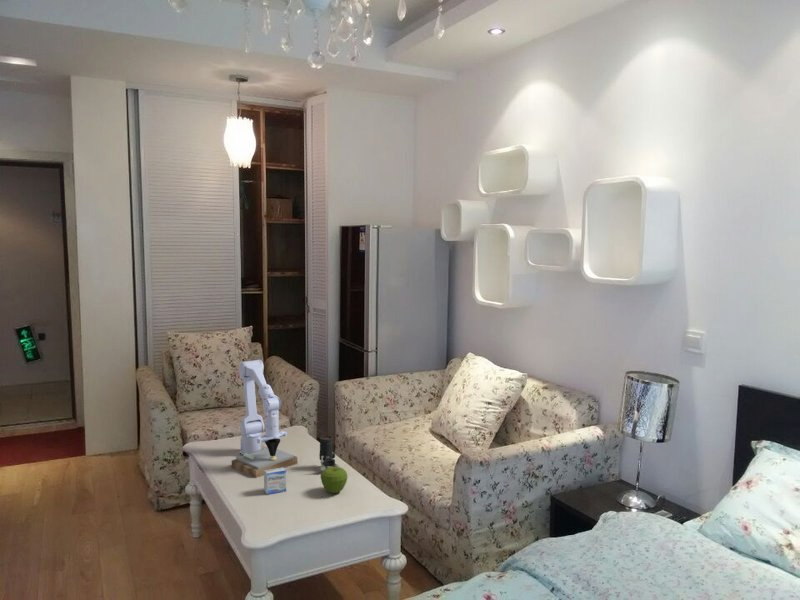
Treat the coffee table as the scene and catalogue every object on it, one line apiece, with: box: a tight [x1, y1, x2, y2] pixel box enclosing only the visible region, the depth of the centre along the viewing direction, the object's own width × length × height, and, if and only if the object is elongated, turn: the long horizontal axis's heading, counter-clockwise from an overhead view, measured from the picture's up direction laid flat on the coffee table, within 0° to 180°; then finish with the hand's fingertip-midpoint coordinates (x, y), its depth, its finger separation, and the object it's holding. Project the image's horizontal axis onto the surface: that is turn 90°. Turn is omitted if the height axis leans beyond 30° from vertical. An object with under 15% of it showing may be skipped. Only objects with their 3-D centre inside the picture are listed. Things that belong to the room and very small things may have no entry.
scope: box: [318, 435, 340, 473], centre depth 264 cm, size 8×14×10 cm
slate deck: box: [235, 447, 295, 469], centre depth 269 cm, size 17×19×3 cm
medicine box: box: [263, 467, 287, 495], centre depth 241 cm, size 8×4×9 cm, turn 117°
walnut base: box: [231, 455, 298, 478], centre depth 269 cm, size 18×22×3 cm
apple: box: [320, 466, 349, 494], centre depth 240 cm, size 11×10×10 cm
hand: (272, 455), depth 265 cm, fingers closed
